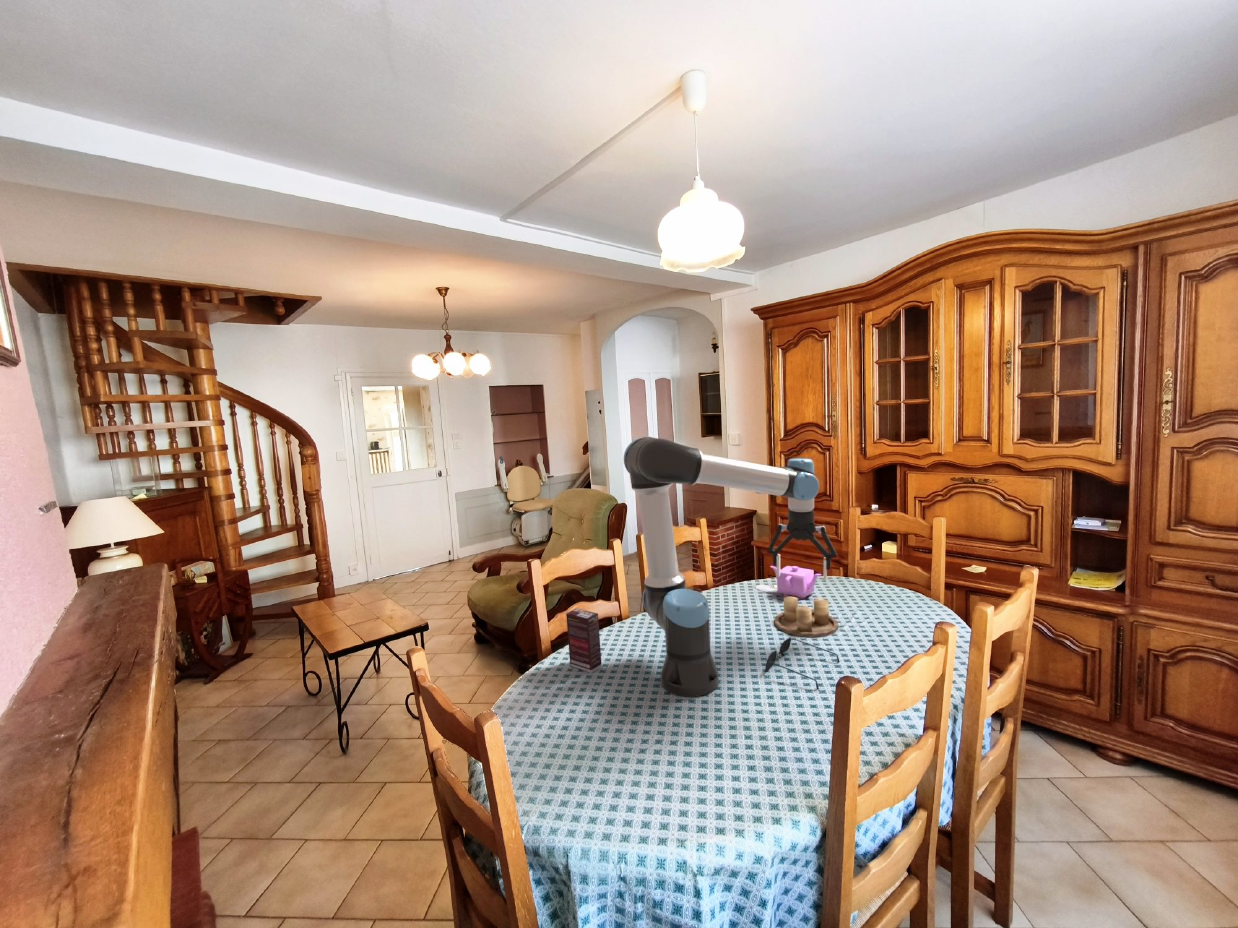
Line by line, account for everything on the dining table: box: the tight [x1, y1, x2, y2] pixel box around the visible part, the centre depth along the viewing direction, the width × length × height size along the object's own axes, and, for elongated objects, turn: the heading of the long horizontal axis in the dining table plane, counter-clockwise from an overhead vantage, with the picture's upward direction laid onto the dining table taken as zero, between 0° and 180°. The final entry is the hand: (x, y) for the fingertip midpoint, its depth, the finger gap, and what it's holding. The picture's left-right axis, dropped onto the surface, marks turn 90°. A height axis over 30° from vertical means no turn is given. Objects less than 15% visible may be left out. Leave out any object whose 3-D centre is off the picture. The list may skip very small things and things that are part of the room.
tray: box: [774, 610, 839, 638], centre depth 170 cm, size 19×19×2 cm
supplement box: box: [565, 608, 603, 674], centre depth 152 cm, size 9×5×16 cm, turn 52°
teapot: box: [770, 565, 823, 601], centre depth 197 cm, size 15×13×11 cm
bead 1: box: [783, 596, 799, 622], centre depth 174 cm, size 4×4×7 cm
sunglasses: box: [764, 637, 840, 690], centre depth 144 cm, size 17×15×5 cm
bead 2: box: [796, 606, 813, 632], centre depth 165 cm, size 4×4×7 cm
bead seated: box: [813, 598, 830, 625], centre depth 170 cm, size 4×4×7 cm
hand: (801, 577), depth 163 cm, fingers open, 13 cm apart
